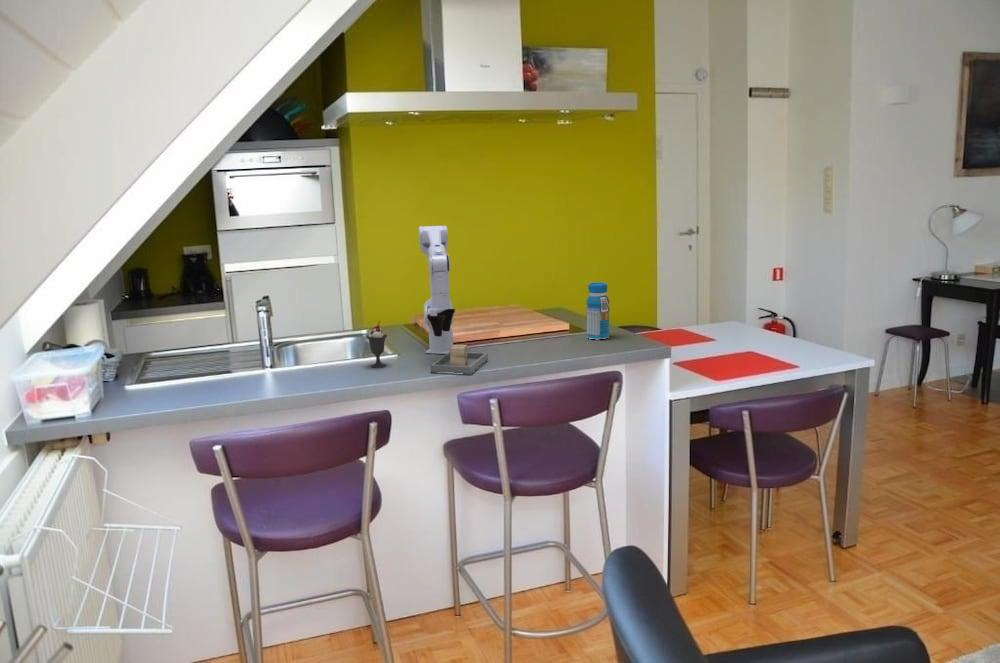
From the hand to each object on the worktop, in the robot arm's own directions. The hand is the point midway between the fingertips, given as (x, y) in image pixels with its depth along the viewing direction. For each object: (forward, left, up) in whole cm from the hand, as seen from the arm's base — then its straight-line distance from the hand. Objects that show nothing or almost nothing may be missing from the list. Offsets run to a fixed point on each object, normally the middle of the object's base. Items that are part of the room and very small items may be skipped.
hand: (442, 333), depth 255 cm
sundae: (+9, -19, -10) cm, 23 cm away
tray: (+5, +8, -9) cm, 13 cm away
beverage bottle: (-42, +44, -10) cm, 62 cm away
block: (+5, +7, -9) cm, 12 cm away
